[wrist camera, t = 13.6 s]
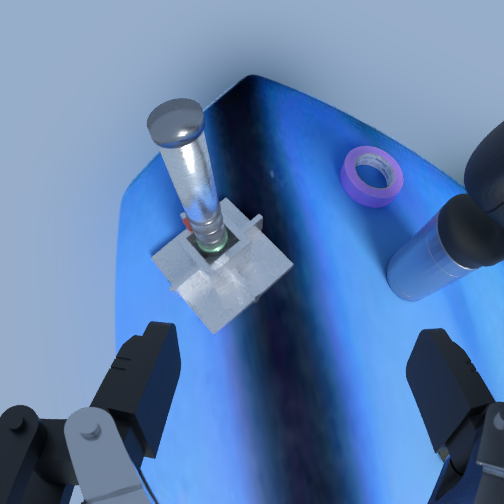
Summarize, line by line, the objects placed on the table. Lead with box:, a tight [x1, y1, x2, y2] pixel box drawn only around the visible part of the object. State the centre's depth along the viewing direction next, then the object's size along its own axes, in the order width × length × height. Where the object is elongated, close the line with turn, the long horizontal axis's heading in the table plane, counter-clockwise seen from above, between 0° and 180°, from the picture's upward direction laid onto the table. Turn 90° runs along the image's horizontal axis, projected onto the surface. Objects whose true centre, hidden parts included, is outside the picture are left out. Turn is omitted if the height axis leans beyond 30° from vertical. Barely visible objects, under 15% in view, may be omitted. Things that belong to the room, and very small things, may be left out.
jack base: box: [151, 198, 294, 335], centre depth 44 cm, size 17×17×11 cm
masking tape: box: [340, 146, 403, 208], centre depth 53 cm, size 12×12×4 cm
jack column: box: [147, 98, 228, 257], centre depth 30 cm, size 4×4×23 cm
